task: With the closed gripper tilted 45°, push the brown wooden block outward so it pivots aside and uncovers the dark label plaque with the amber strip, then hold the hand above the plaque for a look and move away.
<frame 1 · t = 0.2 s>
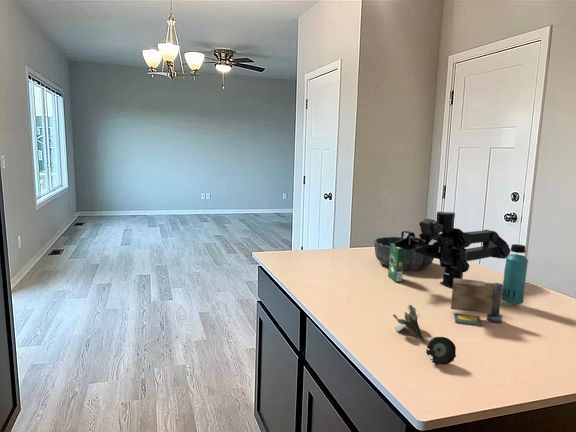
hand: (404, 247, 144), 17 cm above the counter, tool horizontal, fingers open, 9 cm apart
label plaque: (467, 320, 126), on the counter
brown wooden block: (477, 298, 125), point 7 cm above the counter, hinge at 0.0°
beverage bottle: (511, 306, 140), on the counter
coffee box: (395, 279, 164), on the counter
pivot foot: (493, 320, 127), on the counter
artificial flower: (418, 344, 110), on the counter
bundt pan: (403, 265, 186), on the counter
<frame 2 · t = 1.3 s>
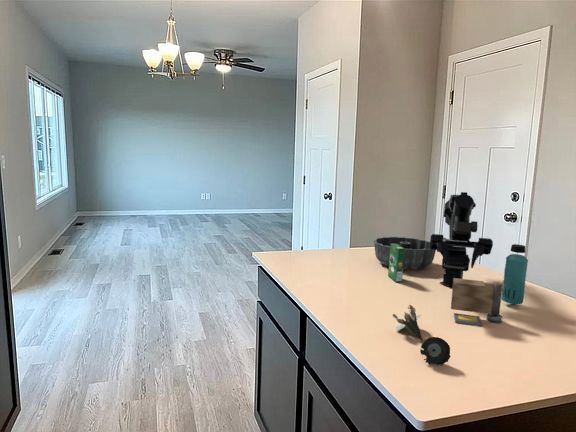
hand: (459, 266, 137), 13 cm above the counter, tool tilted 45°, fingers open, 7 cm apart
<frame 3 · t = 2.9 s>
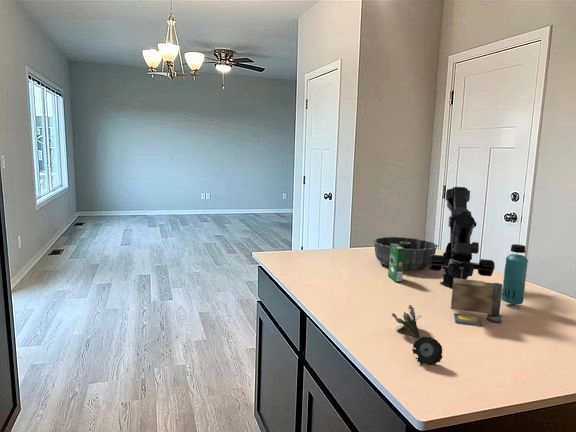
hand: (460, 289, 132), 7 cm above the counter, tool tilted 45°, fingers closed
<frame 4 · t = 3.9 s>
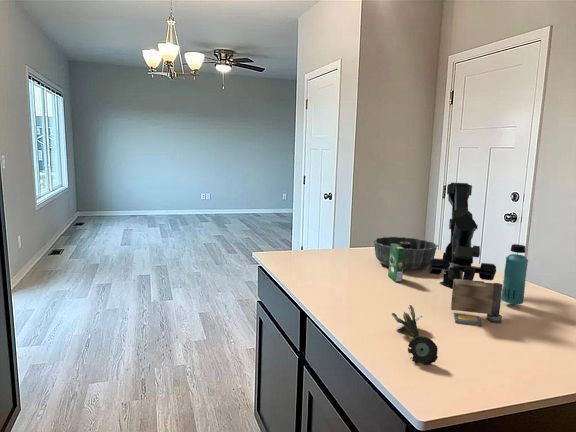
hand: (461, 293, 129), 7 cm above the counter, tool tilted 45°, fingers closed, pressing on brown wooden block
brown wooden block: (477, 298, 125), point 7 cm above the counter, hinge at 3.7°, touching gripper
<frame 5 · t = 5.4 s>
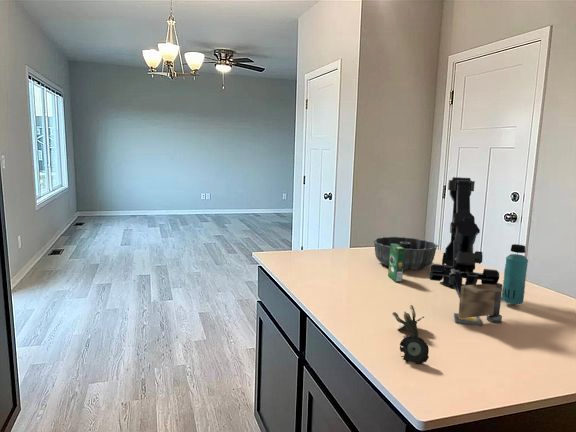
hand: (463, 301, 124), 6 cm above the counter, tool tilted 45°, fingers closed
brown wooden block: (486, 302, 122), point 7 cm above the counter, hinge at 33.3°, touching gripper
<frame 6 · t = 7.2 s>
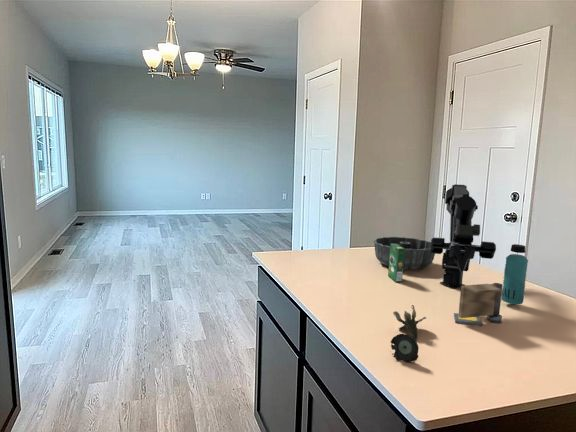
hand: (461, 271, 132), 13 cm above the counter, tool tilted 45°, fingers closed
brown wooden block: (486, 302, 122), point 7 cm above the counter, hinge at 33.3°
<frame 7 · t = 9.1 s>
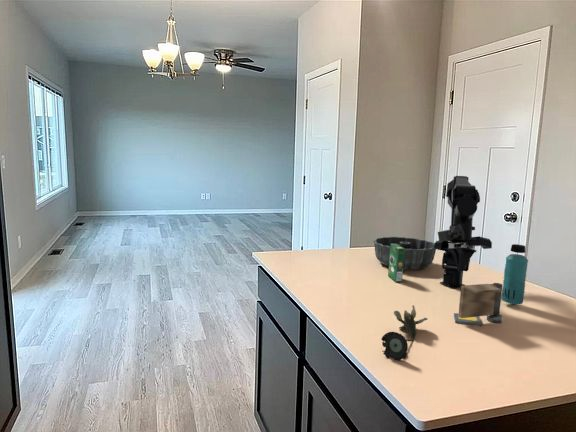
hand: (460, 271, 137), 11 cm above the counter, tool tilted 20°, fingers closed
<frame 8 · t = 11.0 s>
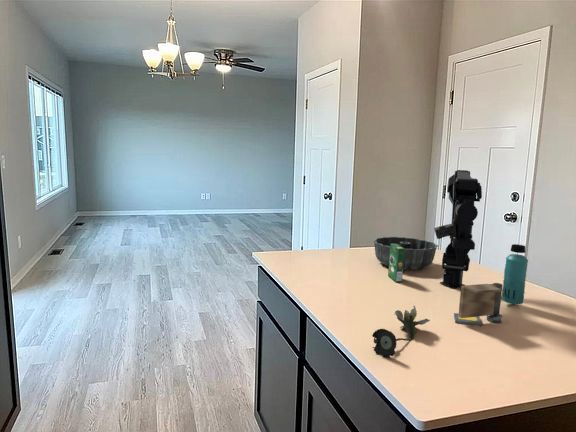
hand: (459, 264, 141), 12 cm above the counter, tool pointing down, fingers closed
at the end: brown wooden block at +33° (first picture: +0°) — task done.
